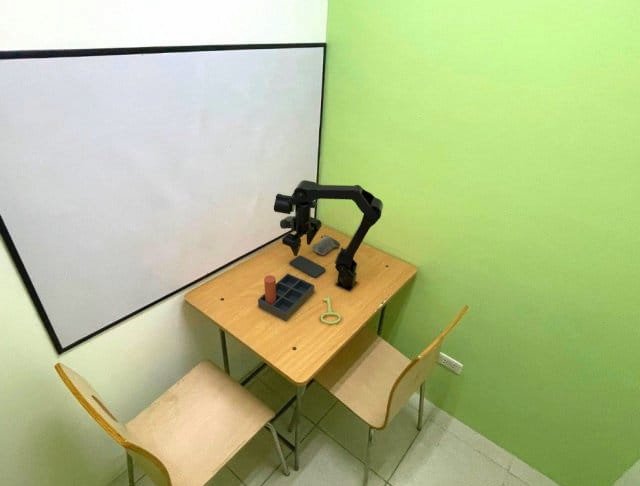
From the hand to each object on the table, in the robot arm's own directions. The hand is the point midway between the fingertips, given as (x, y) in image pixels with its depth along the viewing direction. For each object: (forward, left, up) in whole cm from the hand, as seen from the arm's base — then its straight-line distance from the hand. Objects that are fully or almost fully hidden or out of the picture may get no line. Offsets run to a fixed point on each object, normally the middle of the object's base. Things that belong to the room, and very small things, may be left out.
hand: (302, 250), depth 145 cm
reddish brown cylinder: (-1, +21, -12) cm, 25 cm away
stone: (+2, -22, -13) cm, 26 cm away
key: (-21, +12, -13) cm, 27 cm away
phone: (+1, -6, -13) cm, 14 cm away
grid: (-4, +15, -13) cm, 20 cm away
